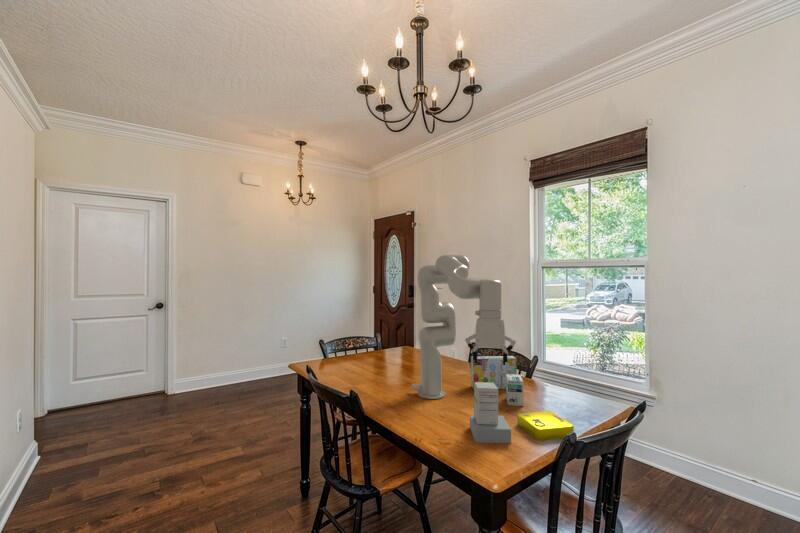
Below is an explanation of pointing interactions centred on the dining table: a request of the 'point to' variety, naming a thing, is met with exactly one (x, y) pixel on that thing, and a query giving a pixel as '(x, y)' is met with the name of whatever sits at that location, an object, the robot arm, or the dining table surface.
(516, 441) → the dining table surface
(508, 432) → the grey block
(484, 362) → the snack box
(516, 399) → the light bulb box
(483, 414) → the supplement box
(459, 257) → the robot arm
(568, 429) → the element tile
